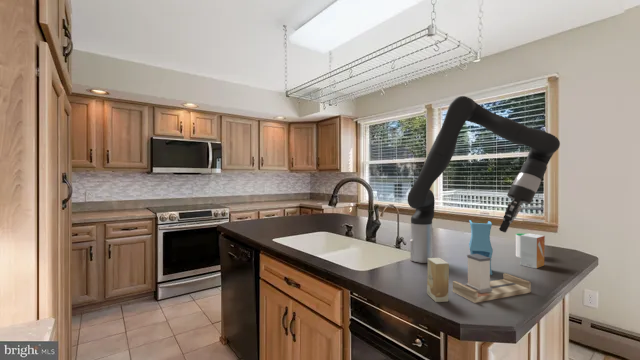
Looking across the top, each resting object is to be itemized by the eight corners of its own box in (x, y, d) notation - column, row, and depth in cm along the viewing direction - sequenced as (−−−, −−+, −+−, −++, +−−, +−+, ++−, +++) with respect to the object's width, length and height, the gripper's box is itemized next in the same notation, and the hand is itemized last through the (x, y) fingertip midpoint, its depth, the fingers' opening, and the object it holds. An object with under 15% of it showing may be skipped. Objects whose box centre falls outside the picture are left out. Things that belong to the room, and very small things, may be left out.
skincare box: (426, 294, 96) (426, 257, 96) (439, 293, 96) (439, 257, 96) (436, 302, 90) (435, 263, 89) (449, 302, 90) (449, 263, 90)
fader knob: (480, 293, 92) (480, 259, 92) (465, 286, 97) (465, 254, 97) (492, 291, 93) (492, 258, 93) (476, 284, 99) (477, 253, 99)
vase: (490, 269, 121) (490, 221, 120) (492, 275, 113) (492, 224, 113) (469, 266, 124) (469, 220, 124) (470, 272, 117) (470, 223, 116)
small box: (537, 269, 120) (537, 237, 120) (519, 265, 125) (519, 235, 125) (544, 265, 124) (545, 235, 124) (527, 261, 130) (528, 233, 129)
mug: (532, 253, 143) (532, 232, 143) (548, 258, 135) (548, 236, 135) (511, 255, 141) (511, 233, 141) (525, 259, 133) (526, 237, 133)
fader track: (474, 302, 89) (474, 291, 89) (452, 291, 98) (452, 281, 98) (530, 292, 97) (530, 281, 97) (505, 282, 105) (505, 273, 105)
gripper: (536, 188, 96) (512, 234, 97) (535, 195, 106) (514, 237, 107) (511, 180, 101) (488, 224, 101) (513, 188, 111) (492, 228, 112)
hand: (502, 231), depth 104 cm, fingers closed
